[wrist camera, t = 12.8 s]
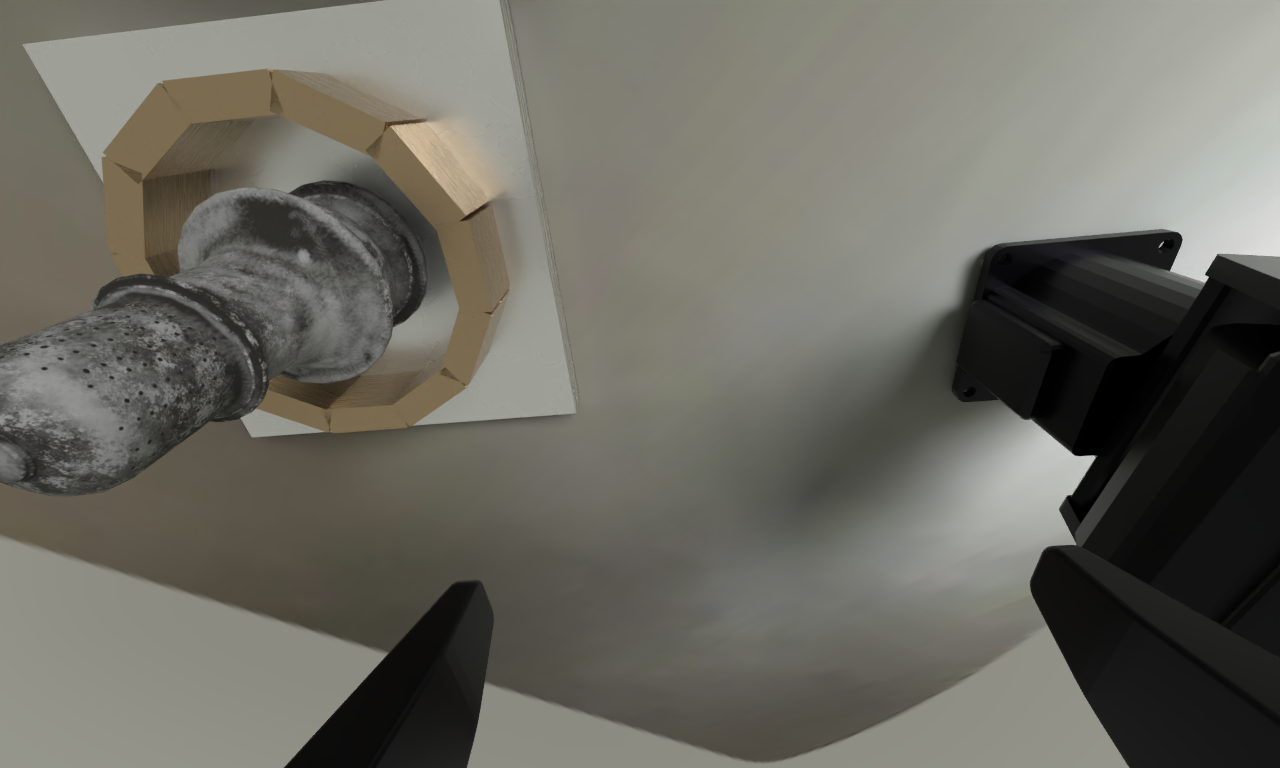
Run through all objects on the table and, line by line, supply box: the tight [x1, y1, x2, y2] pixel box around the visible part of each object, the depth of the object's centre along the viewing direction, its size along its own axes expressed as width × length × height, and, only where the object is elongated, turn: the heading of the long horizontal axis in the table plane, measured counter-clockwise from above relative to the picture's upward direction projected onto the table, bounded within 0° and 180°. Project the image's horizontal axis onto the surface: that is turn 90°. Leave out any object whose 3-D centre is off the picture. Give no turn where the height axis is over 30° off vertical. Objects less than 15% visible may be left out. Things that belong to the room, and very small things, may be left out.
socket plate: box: [23, 0, 579, 437], centre depth 17 cm, size 14×14×4 cm
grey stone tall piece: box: [0, 180, 428, 497], centre depth 12 cm, size 6×6×12 cm
